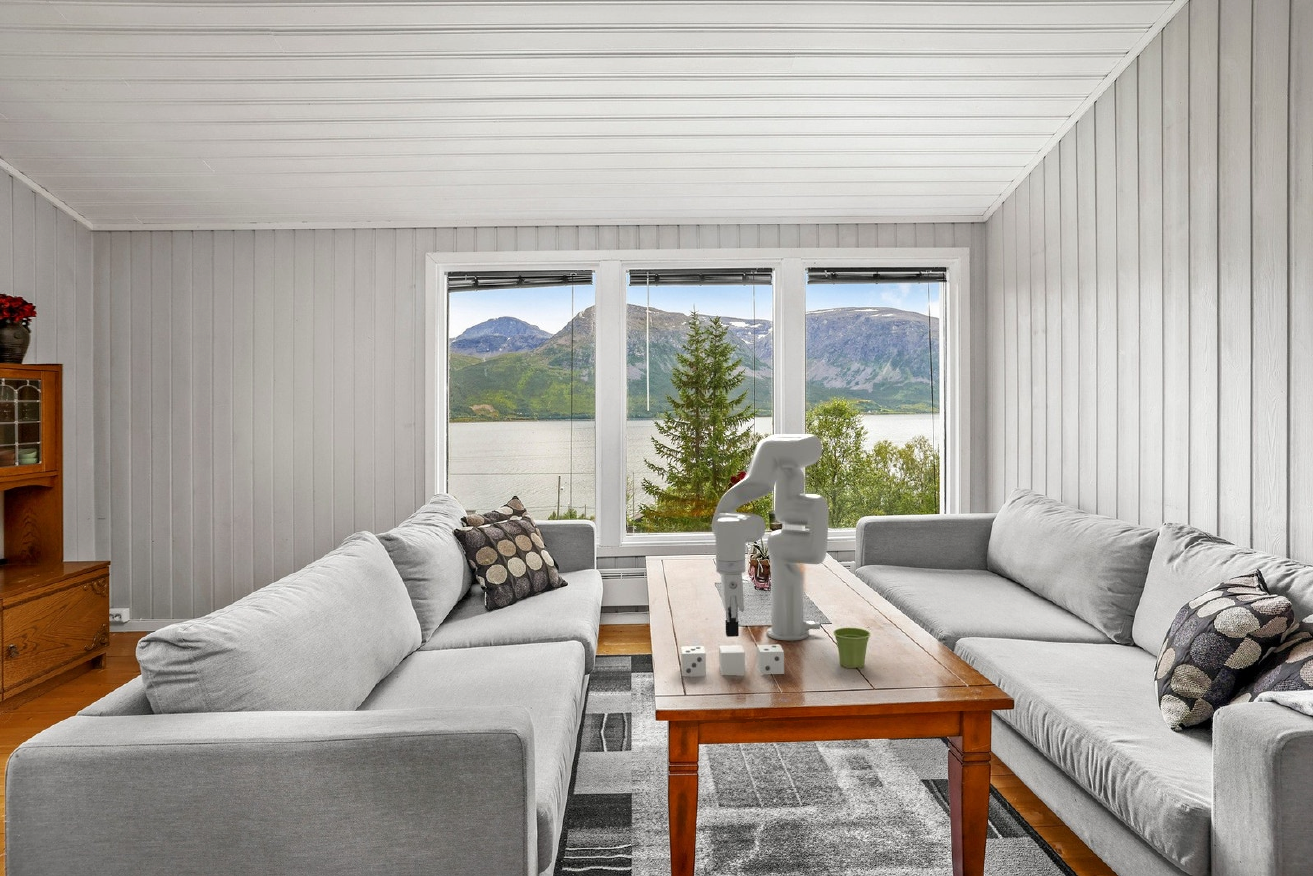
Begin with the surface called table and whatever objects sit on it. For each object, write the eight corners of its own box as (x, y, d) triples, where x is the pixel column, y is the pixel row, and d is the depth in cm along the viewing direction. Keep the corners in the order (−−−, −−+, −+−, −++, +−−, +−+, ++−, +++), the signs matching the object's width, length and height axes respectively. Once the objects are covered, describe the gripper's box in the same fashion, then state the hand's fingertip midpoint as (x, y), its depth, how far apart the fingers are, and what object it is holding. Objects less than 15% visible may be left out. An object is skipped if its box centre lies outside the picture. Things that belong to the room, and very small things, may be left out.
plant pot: (864, 673, 199) (864, 639, 198) (828, 667, 204) (828, 634, 203) (875, 662, 206) (874, 630, 206) (840, 657, 211) (840, 625, 211)
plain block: (742, 667, 205) (741, 645, 204) (745, 675, 199) (744, 652, 198) (719, 668, 205) (719, 645, 204) (721, 676, 199) (721, 652, 198)
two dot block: (780, 667, 205) (779, 644, 205) (784, 675, 199) (783, 651, 198) (757, 667, 205) (757, 644, 205) (760, 675, 199) (760, 651, 198)
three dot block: (704, 668, 205) (703, 645, 204) (705, 676, 199) (705, 652, 198) (681, 669, 205) (680, 646, 204) (682, 677, 198) (682, 653, 198)
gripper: (748, 571, 193) (750, 644, 194) (741, 559, 208) (743, 626, 209) (718, 572, 193) (720, 645, 194) (713, 560, 208) (715, 627, 209)
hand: (732, 635), depth 202 cm, fingers closed
